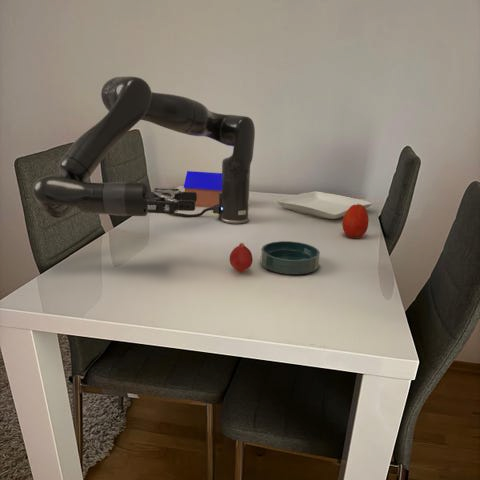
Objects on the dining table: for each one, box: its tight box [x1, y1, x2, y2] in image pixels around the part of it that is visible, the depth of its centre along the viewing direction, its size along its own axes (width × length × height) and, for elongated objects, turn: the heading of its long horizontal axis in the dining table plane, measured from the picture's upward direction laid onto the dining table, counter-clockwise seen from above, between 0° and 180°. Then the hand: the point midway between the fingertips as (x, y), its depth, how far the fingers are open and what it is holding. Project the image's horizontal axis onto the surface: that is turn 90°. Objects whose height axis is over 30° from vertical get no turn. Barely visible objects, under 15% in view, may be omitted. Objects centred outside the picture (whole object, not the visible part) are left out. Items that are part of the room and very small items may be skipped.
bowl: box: [260, 240, 321, 275], centre depth 120 cm, size 15×15×4 cm
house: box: [183, 170, 222, 208], centre depth 174 cm, size 12×20×12 cm, turn 81°
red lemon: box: [229, 242, 254, 274], centre depth 113 cm, size 6×6×8 cm
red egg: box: [341, 204, 370, 239], centre depth 144 cm, size 8×8×11 cm
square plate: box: [275, 190, 374, 220], centre depth 173 cm, size 27×27×4 cm
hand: (196, 201), depth 106 cm, fingers open, 8 cm apart
